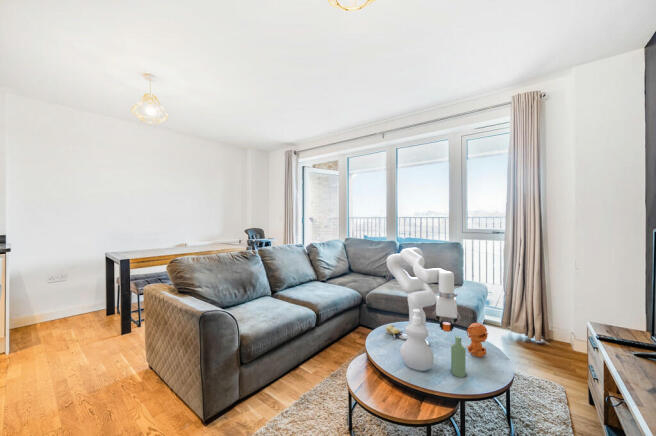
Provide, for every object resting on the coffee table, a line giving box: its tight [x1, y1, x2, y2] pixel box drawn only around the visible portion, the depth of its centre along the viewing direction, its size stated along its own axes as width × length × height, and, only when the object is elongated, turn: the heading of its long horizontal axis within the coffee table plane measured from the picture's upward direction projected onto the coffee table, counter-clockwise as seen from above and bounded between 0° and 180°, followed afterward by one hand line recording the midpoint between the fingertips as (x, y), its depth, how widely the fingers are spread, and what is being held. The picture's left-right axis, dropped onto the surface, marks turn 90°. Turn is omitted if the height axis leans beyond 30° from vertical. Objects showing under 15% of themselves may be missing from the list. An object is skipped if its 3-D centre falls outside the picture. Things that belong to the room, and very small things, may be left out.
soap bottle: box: [399, 309, 435, 372], centre depth 138 cm, size 17×12×29 cm
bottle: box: [450, 335, 467, 378], centre depth 132 cm, size 6×6×18 cm
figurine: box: [384, 324, 407, 341], centre depth 173 cm, size 10×6×15 cm
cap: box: [442, 321, 452, 332], centre depth 141 cm, size 4×4×4 cm
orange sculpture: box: [466, 321, 489, 358], centre depth 150 cm, size 11×11×18 cm
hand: (446, 329), depth 141 cm, fingers closed on cap, 4 cm apart
